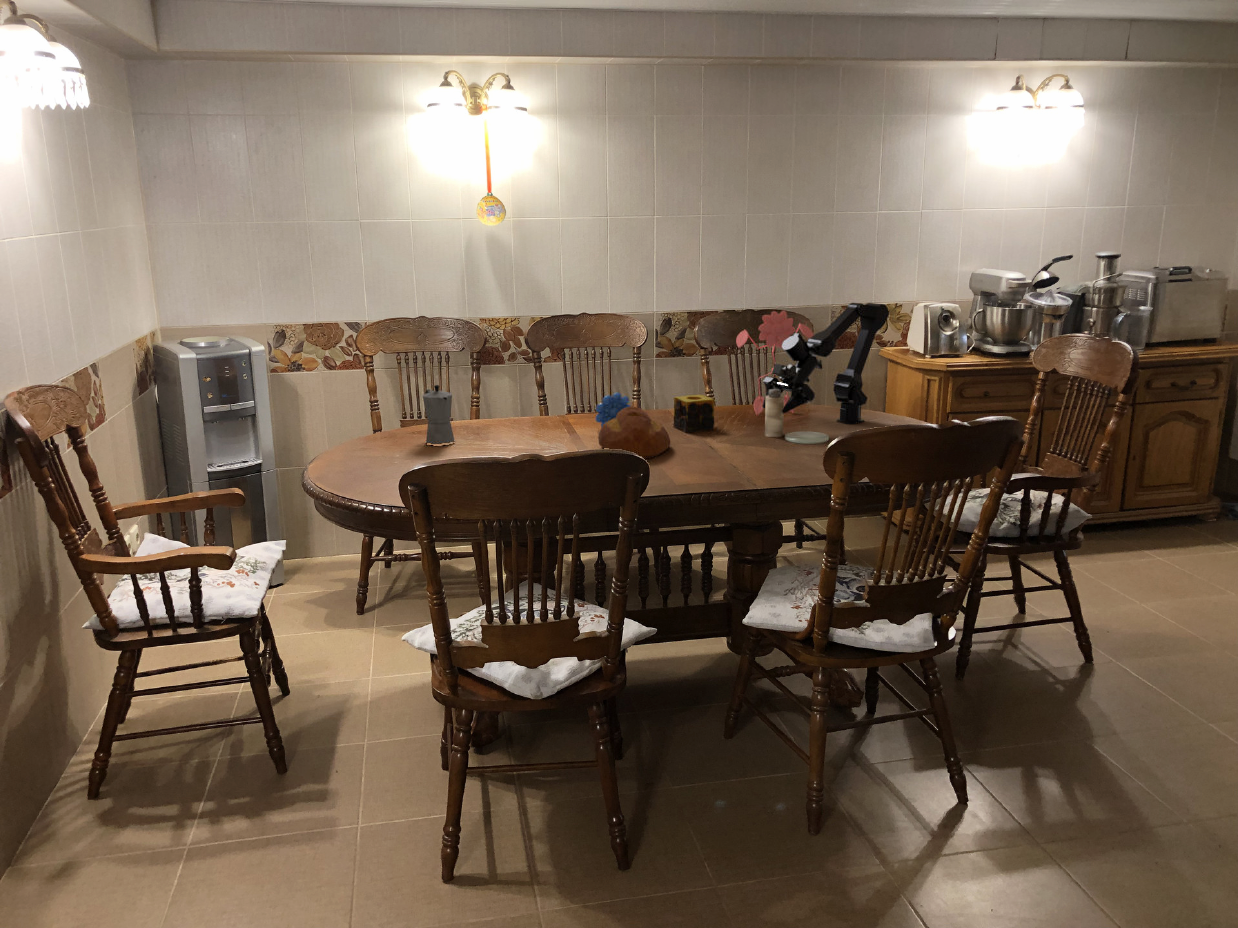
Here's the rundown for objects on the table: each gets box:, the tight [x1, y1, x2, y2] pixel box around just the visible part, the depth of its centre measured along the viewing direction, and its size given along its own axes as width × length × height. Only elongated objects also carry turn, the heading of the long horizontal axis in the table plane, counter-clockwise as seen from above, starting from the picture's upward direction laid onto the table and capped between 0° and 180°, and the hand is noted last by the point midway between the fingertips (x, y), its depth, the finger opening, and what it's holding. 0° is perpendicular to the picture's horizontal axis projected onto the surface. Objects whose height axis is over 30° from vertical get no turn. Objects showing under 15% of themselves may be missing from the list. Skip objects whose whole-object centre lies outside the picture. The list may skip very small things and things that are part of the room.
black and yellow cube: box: [673, 394, 715, 434], centre depth 312 cm, size 10×10×10 cm
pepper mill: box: [764, 389, 785, 438], centre depth 300 cm, size 6×6×14 cm
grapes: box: [595, 392, 631, 428], centre depth 313 cm, size 12×7×12 cm, turn 97°
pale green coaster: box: [784, 430, 830, 445], centre depth 296 cm, size 13×13×1 cm
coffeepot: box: [422, 384, 456, 444], centre depth 299 cm, size 15×9×18 cm, turn 33°
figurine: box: [735, 310, 815, 421], centre depth 325 cm, size 15×26×35 cm, turn 95°
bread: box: [597, 405, 671, 460], centre depth 287 cm, size 21×33×12 cm, turn 3°
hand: (773, 410), depth 300 cm, fingers open, 9 cm apart
